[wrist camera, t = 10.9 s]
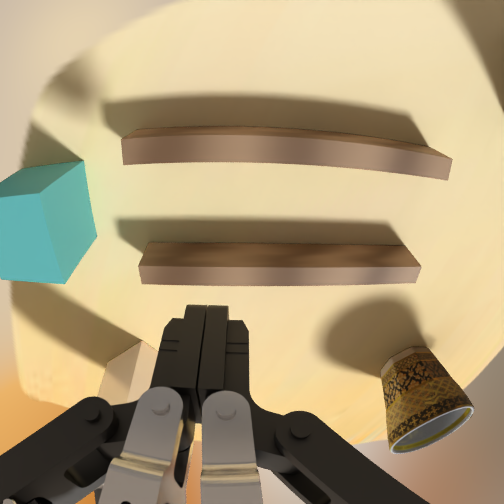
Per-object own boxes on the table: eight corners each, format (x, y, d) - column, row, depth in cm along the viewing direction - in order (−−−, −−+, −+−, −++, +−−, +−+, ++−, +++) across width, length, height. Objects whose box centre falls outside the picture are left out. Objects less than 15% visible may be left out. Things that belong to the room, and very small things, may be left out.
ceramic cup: (353, 388, 34) (372, 459, 26) (394, 333, 29) (429, 413, 20) (427, 384, 36) (451, 441, 28) (468, 336, 31) (503, 396, 22)
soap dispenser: (205, 365, 30) (199, 583, 11) (152, 390, 32) (130, 568, 14) (157, 330, 27) (120, 576, 8) (107, 362, 30) (65, 552, 11)
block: (84, 160, 18) (39, 193, 13) (97, 236, 22) (64, 284, 17) (22, 168, 18) (-26, 200, 13) (38, 236, 21) (1, 279, 16)
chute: (429, 146, 19) (452, 159, 16) (400, 261, 24) (415, 282, 21) (137, 129, 18) (121, 139, 15) (151, 259, 23) (141, 284, 20)
